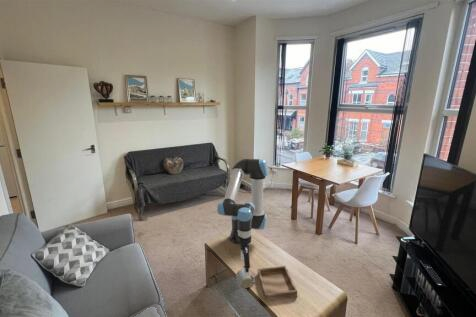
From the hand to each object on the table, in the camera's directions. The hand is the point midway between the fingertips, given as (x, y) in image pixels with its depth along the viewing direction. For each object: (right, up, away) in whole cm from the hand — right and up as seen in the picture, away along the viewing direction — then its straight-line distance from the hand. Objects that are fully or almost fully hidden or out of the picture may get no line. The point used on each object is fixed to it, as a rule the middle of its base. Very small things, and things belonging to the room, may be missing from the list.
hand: (244, 267), depth 135 cm
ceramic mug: (+1, -11, +4) cm, 12 cm away
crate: (+19, -11, +2) cm, 22 cm away
